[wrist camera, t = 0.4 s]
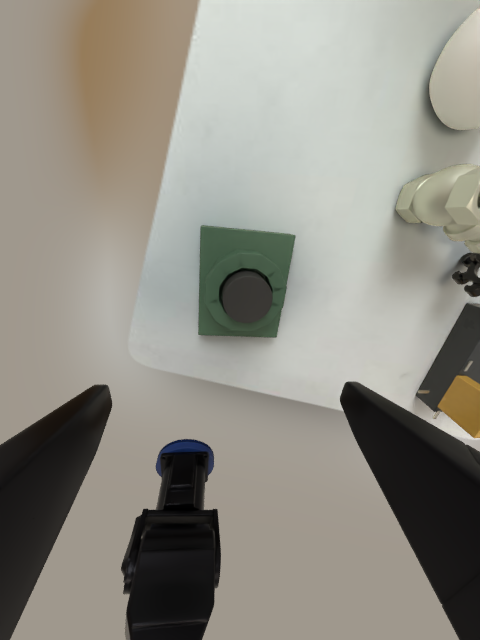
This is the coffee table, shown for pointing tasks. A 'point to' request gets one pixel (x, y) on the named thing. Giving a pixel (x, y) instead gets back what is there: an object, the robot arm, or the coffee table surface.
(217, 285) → the button box
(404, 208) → the valve
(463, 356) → the panel
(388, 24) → the coffee table surface
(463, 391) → the tap handle
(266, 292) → the button
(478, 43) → the figurine
